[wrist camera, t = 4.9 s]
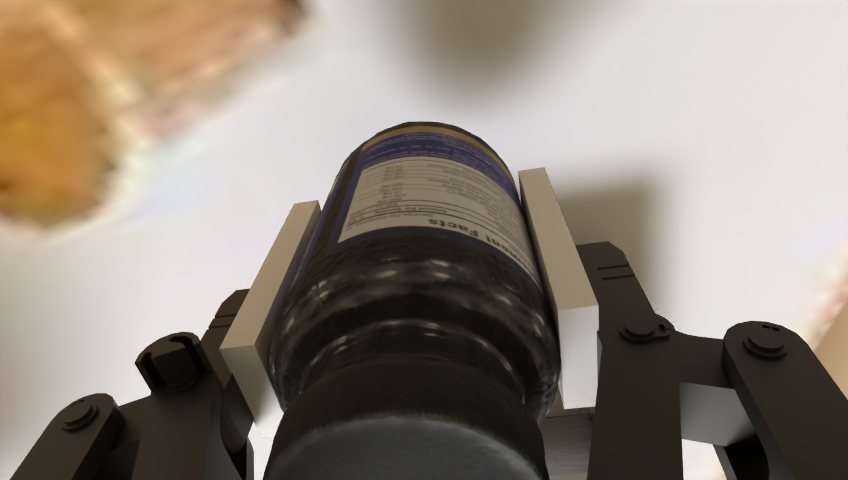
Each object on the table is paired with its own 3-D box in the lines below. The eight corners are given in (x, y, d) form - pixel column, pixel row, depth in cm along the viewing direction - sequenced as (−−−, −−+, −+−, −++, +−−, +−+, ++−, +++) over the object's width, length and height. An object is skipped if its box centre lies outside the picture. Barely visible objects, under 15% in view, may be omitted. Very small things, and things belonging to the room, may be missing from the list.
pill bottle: (427, 308, 20) (411, 649, 11) (296, 205, 18) (137, 515, 9) (556, 202, 18) (679, 523, 9) (422, 71, 16) (387, 300, 6)
